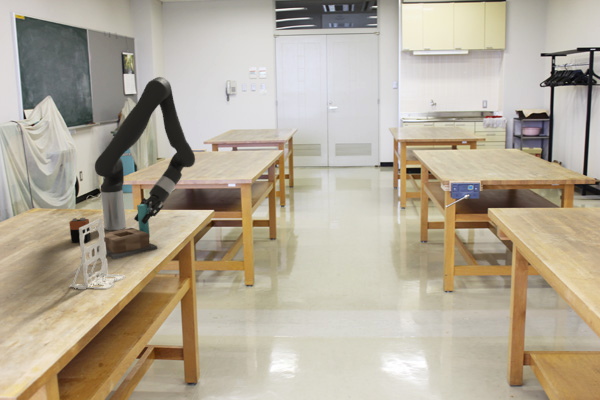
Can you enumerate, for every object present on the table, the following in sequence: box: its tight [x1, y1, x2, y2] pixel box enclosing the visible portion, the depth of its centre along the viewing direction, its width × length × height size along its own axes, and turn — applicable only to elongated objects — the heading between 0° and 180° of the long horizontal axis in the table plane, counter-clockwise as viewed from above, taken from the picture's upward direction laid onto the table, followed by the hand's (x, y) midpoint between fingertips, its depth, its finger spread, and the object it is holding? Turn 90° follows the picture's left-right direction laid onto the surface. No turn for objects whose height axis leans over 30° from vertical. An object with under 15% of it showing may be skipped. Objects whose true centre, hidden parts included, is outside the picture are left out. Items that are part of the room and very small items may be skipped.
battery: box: [69, 217, 92, 244], centre depth 242 cm, size 4×7×10 cm, turn 90°
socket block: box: [92, 227, 158, 260], centre depth 229 cm, size 18×18×6 cm
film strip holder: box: [69, 218, 126, 290], centre depth 191 cm, size 14×14×20 cm
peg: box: [137, 203, 151, 239], centre depth 245 cm, size 4×4×14 cm
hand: (139, 221), depth 244 cm, fingers open, 5 cm apart
